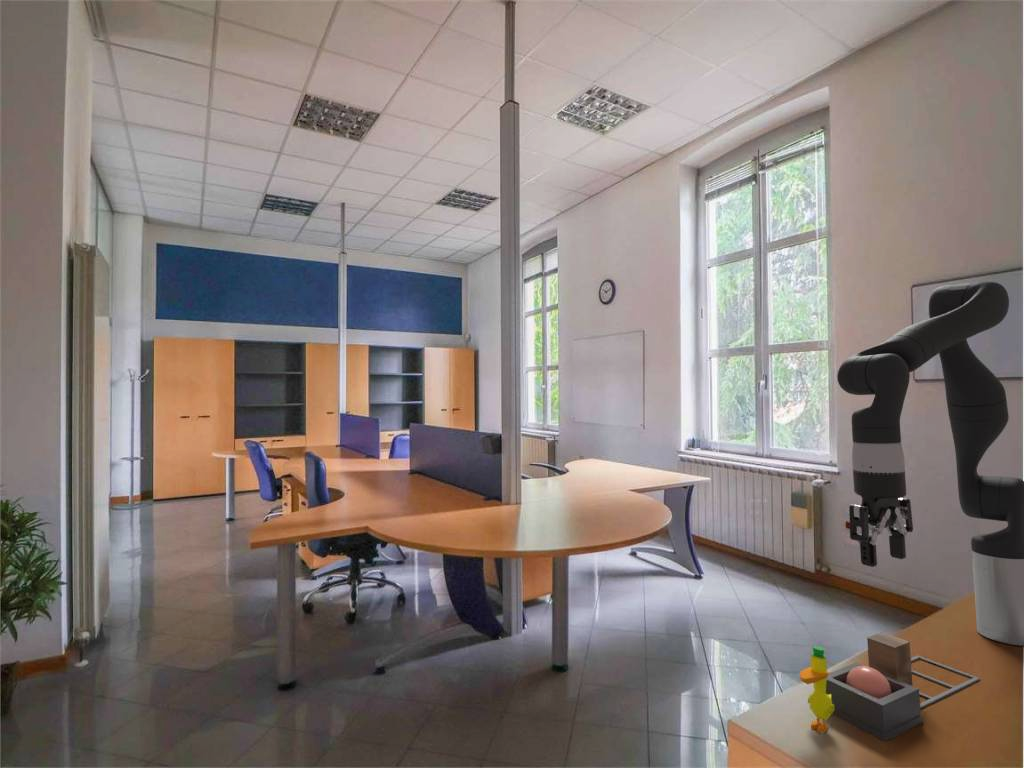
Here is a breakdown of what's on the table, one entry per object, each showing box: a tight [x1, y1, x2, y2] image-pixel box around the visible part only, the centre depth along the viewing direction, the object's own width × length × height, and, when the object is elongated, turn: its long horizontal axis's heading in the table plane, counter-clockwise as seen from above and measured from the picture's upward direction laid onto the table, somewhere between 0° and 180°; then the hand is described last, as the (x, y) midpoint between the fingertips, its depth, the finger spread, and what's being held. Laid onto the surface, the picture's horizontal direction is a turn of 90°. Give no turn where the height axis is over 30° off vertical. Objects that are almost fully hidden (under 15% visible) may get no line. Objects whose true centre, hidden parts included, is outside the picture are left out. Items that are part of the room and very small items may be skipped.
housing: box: [826, 662, 924, 742], centre depth 84 cm, size 10×10×5 cm
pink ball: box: [846, 665, 892, 699], centre depth 84 cm, size 6×6×6 cm
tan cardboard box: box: [866, 631, 913, 686], centre depth 89 cm, size 4×4×9 cm
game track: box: [911, 655, 981, 710], centre depth 92 cm, size 22×10×1 cm, turn 116°
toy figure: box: [798, 645, 834, 734], centre depth 80 cm, size 7×4×12 cm, turn 116°
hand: (884, 561), depth 91 cm, fingers open, 8 cm apart
